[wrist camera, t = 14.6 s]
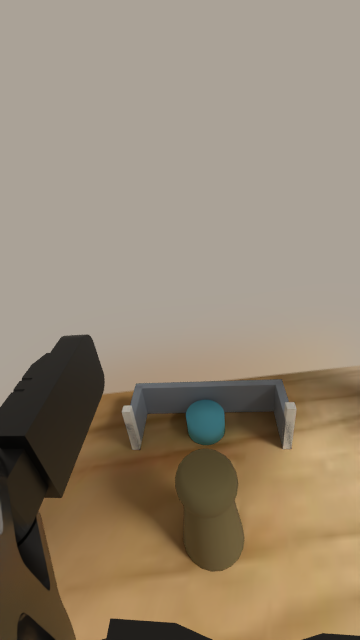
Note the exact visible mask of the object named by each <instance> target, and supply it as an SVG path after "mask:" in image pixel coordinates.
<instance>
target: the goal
mask: <svg viewBox="0 0 360 640" xmlns="http://www.w3.org/2000/svg"><path fill="white" fill-rule="evenodd" d="M199 400H212V401H214V402H216V403H218V404H219V405H220V406H221V407H222V408H223V410H224V412H266V411H274V415H275V419H276V423H277V427H278V431H279V435H280V439H281V443H282V447H283V449H291V448H292V440H293V432H294V424H295V417H296V406H295V403H294V402H289V401H288V397H287V394H286V391H285V388H284V385H283V381H282V379H275V380H241V381H207V382H173V383H139V384H136V386H135V389H134V393H133V397H132V400H131V404H130V406H123V409H122V415H123V418H124V422H125V425H126V429H127V432H128V436H129V439H130V443H131V446H132V450H140V447H141V443H142V438H143V433H144V428H145V423H146V418H147V414H154V413H186V412H187V409H188V408H189V406H190V405H191V404H193V403H194V402H196V401H199Z"/></svg>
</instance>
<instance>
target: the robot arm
mask: <svg viewBox="0 0 360 640" xmlns="http://www.w3.org/2000/svg"><path fill="white" fill-rule="evenodd" d="M103 391H104V373H103V370H102V367H101V364H100V361H99V358H98V355H97V352H96V349H95V346H94V343H93V340H92V338H91V336H89V335H72V336H63V337H61V338H60V340H59V341H58V343H57V344H56V345H55V347H54V348H53V350H52V351H51V353H46V354H45V355H44V356H42V357H41V358H40V359H39V360H37V361H36V362H35V363H33V364H32V365H31V367H30V368H29V369H28V371H27V372H26V373H25V375H24V376H23V378H22V381H19V383H18V384H17V386H16V387H15V389H14V392H13V393H11V394H10V395H9V396H8V398H7V399H6V400H5V402H4V403H3V404H2V406H1V407H0V640H76V638H75V634H74V631H73V628H72V625H71V622H70V619H69V617H68V614H67V612H66V610H65V608H64V606H63V603H62V601H61V598H60V595H59V592H58V588H57V583H56V579H55V575H54V570H53V566H52V562H51V557H50V553H49V548H48V544H47V540H46V535H45V531H44V526H43V522H42V518H41V515H40V513H39V511H38V510H39V508H40V506H41V503H42V501H43V499H44V498H62V496H63V493H64V491H65V488H66V486H67V483H68V481H69V478H70V475H71V473H72V470H73V468H74V465H75V463H76V460H77V458H78V455H79V453H80V450H81V448H82V445H83V442H84V440H85V437H86V435H87V432H88V430H89V427H90V425H91V422H92V420H93V417H94V415H95V412H96V409H97V407H98V404H99V402H100V399H101V397H102V394H103ZM102 640H212V639H210V638H207V637H205V636H203V635H201V634H199V633H196V632H194V631H192V630H190V629H188V628H185V627H183V626H181V625H179V624H176V623H167V622H153V621H138V620H124V619H110V623H109V628H108V634H107V638H106V639H102ZM303 640H360V636H354V635H340V634H325V633H322V634H319V635H316V636H313V637H309V638H306V639H303Z"/></svg>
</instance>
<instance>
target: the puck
mask: <svg viewBox="0 0 360 640" xmlns="http://www.w3.org/2000/svg"><path fill="white" fill-rule="evenodd" d="M186 420H187V428H188V434H189V436H190V438H191V439H192V440H193V441H194V442H196V443H198V444H201V445H211V444H214V443H216V442H218V441H219V440H221V438H222V437H223V436H224V433H225V418H224V410H223V408H222V407H221V406H220V405H219V404H218V403H216V402H214V401H212V400H199V401H196V402H194V403H193V404H191V405H190V406H189V408H188V409H187V412H186Z"/></svg>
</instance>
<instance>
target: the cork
mask: <svg viewBox="0 0 360 640" xmlns="http://www.w3.org/2000/svg"><path fill="white" fill-rule="evenodd" d="M175 487H176V491H177V494H178V497H179V500H180V501H181V503H182V504H183V505H184V527H183V537H184V545H185V548H186V551H187V553H188V555H189V556H190V558H191V559H192V561H193V562H194V563H195V564H197V565H198V566H199V567H201V568H202V569H206V570H209V571H223V570H225V569H227V568H229V567H231V566H232V565H233V564H234V563H235V562H236V561H237V560H238V559H239V557H240V554H241V552H242V550H243V545H244V533H243V527H242V523H241V520H240V517H239V513H238V510H237V507H236V503H235V498H236V495H237V489H238V480H237V474H236V471H235V469H234V467H233V465H232V463H231V461H230V460H229V459H228V458H227V457H226V456H225V455H223V454H221V453H220V452H218V451H216V450H212V449H198V450H196V451H193V452H191V453H190V454H189V455H187V456H186V457H185V458H184V459H183V460H182V462H181V463H180V464H179V466H178V470H177V473H176V477H175Z"/></svg>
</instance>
